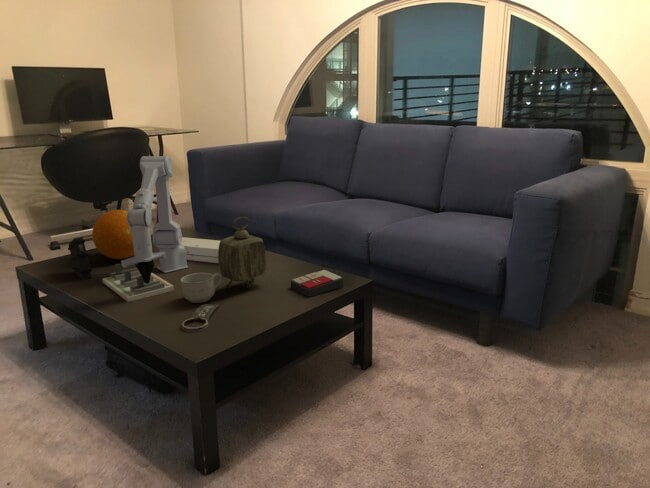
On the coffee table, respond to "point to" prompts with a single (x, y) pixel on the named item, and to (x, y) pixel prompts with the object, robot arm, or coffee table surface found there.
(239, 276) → the tabletop clock
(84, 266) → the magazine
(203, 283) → the teacup
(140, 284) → the breaker
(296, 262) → the coffee table surface
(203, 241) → the laminator
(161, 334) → the coffee table surface
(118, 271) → the block
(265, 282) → the coffee table surface
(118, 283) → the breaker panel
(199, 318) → the metal bottle opener
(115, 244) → the decorative sphere
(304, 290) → the red white labeled box
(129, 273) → the breaker mid
